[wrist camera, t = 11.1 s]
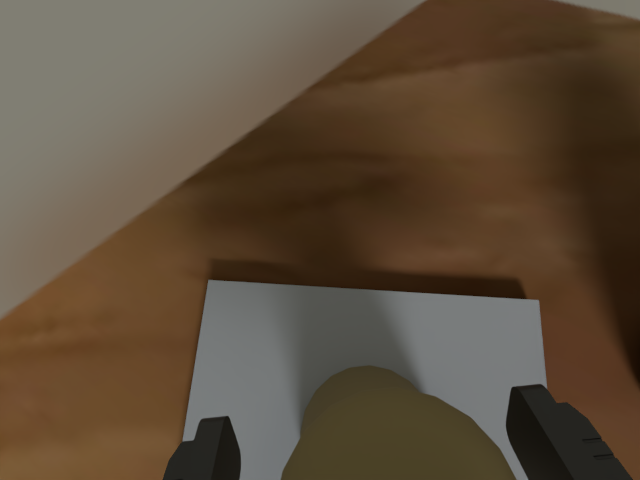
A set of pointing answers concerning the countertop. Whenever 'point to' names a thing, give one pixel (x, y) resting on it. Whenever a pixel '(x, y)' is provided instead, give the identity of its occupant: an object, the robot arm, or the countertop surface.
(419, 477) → the tan chess pawn
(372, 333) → the white flat plate
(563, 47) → the countertop surface
